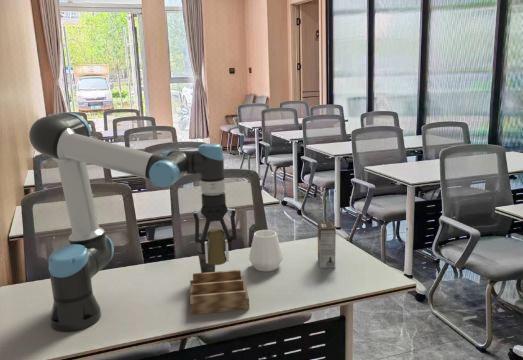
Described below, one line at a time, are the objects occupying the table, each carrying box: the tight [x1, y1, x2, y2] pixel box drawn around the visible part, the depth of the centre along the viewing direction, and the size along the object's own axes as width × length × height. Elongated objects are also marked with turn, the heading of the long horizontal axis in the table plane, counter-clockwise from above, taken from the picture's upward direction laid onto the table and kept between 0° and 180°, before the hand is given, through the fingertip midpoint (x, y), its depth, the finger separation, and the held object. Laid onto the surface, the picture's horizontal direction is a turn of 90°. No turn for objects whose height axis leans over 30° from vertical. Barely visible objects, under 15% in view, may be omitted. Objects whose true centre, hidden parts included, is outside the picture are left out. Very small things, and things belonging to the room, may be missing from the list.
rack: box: [189, 269, 250, 315], centre depth 167 cm, size 19×18×6 cm
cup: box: [248, 229, 284, 272], centre depth 191 cm, size 13×13×14 cm
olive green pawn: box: [207, 228, 227, 266], centre depth 159 cm, size 6×6×11 cm
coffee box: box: [317, 221, 337, 269], centre depth 192 cm, size 9×6×16 cm
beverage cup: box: [196, 227, 216, 273], centre depth 181 cm, size 7×7×20 cm
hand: (217, 260), depth 160 cm, fingers closed on olive green pawn, 6 cm apart
